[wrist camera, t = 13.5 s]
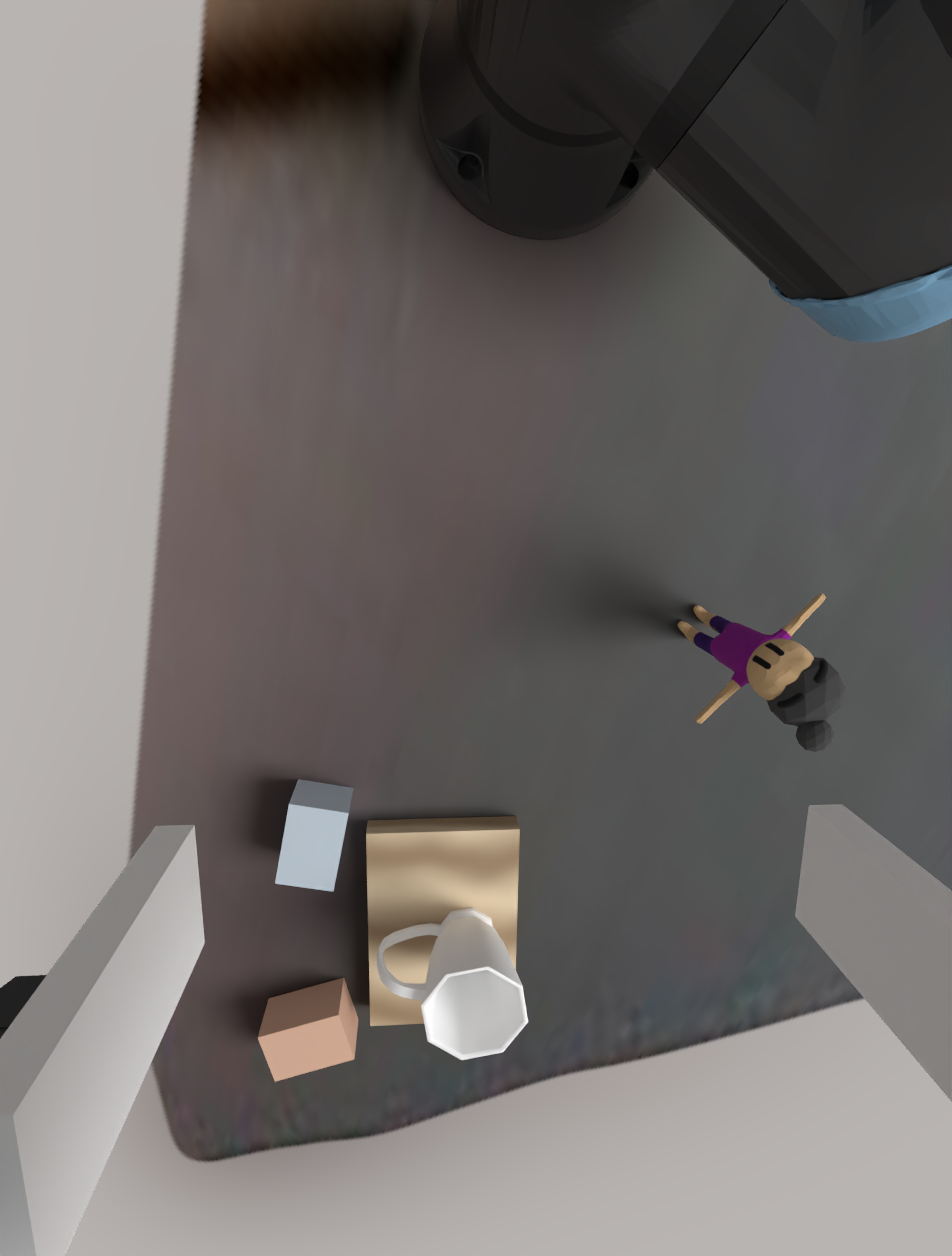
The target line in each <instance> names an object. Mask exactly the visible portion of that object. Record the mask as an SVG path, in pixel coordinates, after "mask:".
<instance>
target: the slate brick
mask: <svg viewBox="0 0 952 1256" xmlns="http://www.w3.org/2000/svg"><path fill="white" fill-rule="evenodd" d="M352 793H353V788H350V787H344V786H338V785H331V784H325V783H319V782H313V781H307V780H300V779H298V781H297V784H296V787H295V789H294V792H293V795H292V797H291V800H290V803H289V807H288V812H287V818H286V824H285V829H284V835H283V841H282V847H281V852H280V858H279V864H278V870H277V875H276V881H275V884H282V885H289V886H296V887H304V888H311V889H318V890H325V891H332V892H333V891H334V886H335V881H336V876H337V871H338V865H339V860H340V855H341V850H342V845H343V840H344V835H345V829H346V824H347V819H348V814H349V809H350V804H351V798H352Z"/></svg>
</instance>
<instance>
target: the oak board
mask: <svg viewBox="0 0 952 1256" xmlns="http://www.w3.org/2000/svg"><path fill="white" fill-rule="evenodd" d="M519 835H520V829H519V825H518V822H517V818H516V816H501V817H466V818H431V819H396V820H368V824H367V831H366V852H367V896H368V940H369V984H370V1026H382V1025H401V1024H419V1023H424V1019H423V1014H422V1009H421V1002H422V1000H413V999H409V998H404V997H401V996H398V995H396V994H394V993H392V992H391V991H390V990H389V989H388V988H387V987H386V986H385V985H384V984H383V983H382V982H381V979H380V976H379V973H378V969H377V953H378V949H379V946H380V944H381V943H382V941H383V939H384V938H385V937H387V936H388V935H390V934H392V933H393V932H396V931H399V930H402V929H405V928H408V927H412V926H415V925H421V924H428V923H434V924H441V923H442V922H443V921H444V919H445V918H446V917H447V916H448V914H449V913H450V912H451V911H456V910H462V909H467V908H472V907H473V908H475V909H477V910H478V911H480V912H482V913H483V914H485V915H487V916H488V917H490V918H491V919H492V925H493V928H495V930H496V931H497V933H498V935H499V936H500V938H501V939H502V941H503V942H504V944H505V947H506V949H507V951H508V954H509V956H510V959H511V961H512V964H513V966H514V968H515V970H516V937H517V903H518V869H519ZM437 938H438V936H434V935H424V936H417V937H414V938H410V939H407V940H404V941H401V942H399V943H396V944H394V945H392V946H390V947H388V948H386V949H385V951H384V952H383V956H384V961H385V964H386V967H387V970H388V971H389V972H390V973H391V974H392V975H393V976H394V977H395V978H396V979H397V980H399V981H401V982H403V983H415V984H421V983H425V982H426V977H427V971H428V966H429V960H430V956H431V953H432V950H433V947H434V944H435V942H436V939H437Z"/></svg>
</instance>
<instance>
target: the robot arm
mask: <svg viewBox="0 0 952 1256" xmlns="http://www.w3.org/2000/svg"><path fill="white" fill-rule="evenodd" d="M419 107H420V117H421V123H422V128H423V132H424V137H425V140H426V143H427V147H428V149H429V152H430V155H431V157H432V159H433V162H434V164H435V166H436V168H437V170H438V172H439V173H440V175H441V177H442V179H443V180H444V182H445V183H446V185H447V186H448V187H449V189H450V190H451V191H452V193H453V194H454V195H455V196H456V197H457V199H458V200H459V201H460V202H461V203H462V204H463V205H464V206H465V207H466V208H467V209H468V210H470V211H471V212H472V213H473V214H474V215H476V216H477V217H478V218H480V219H481V220H483V221H484V222H486V223H487V224H489V225H491V226H493V227H495V228H497V229H499V230H501V231H504V232H506V233H509V234H512V235H515V236H519V237H523V238H529V239H539V240H551V239H560V238H566V237H570V236H574V235H578V234H581V233H584V232H586V231H588V230H591V229H593V228H595V227H596V226H598V225H600V224H602V223H603V222H605V221H606V220H608V219H609V218H611V217H612V216H613V215H615V214H616V213H617V212H618V211H619V210H620V209H622V208H623V207H624V206H625V205H626V204H627V203H628V202H629V200H630V199H631V198H632V197H633V196H634V195H635V193H636V192H637V191H638V190H639V188H640V187H641V186H642V184H643V183H644V182H645V180H646V179H647V178H648V176H649V175H650V174H651V172H652V170H653V169H656V168H657V169H656V171H657V172H658V173H659V174H660V175H661V176H662V177H663V178H664V179H665V180H666V181H667V182H668V183H669V184H670V185H671V186H672V187H673V188H674V189H675V190H677V191H678V192H679V193H680V194H681V195H682V196H683V197H684V198H685V199H686V200H687V201H688V202H689V203H690V204H691V205H692V206H693V207H694V208H695V209H696V210H697V211H699V212H700V213H701V214H702V215H703V216H704V217H705V218H706V219H707V220H708V221H709V222H710V223H711V224H712V225H713V226H714V227H715V228H716V229H717V230H718V231H719V232H721V233H722V234H723V235H724V236H725V237H726V238H727V239H728V240H729V241H730V242H731V243H732V244H733V245H734V246H735V247H736V248H737V249H738V250H739V251H740V252H741V253H743V254H744V255H745V256H746V257H747V258H748V259H749V260H750V261H751V262H752V263H753V264H754V265H755V266H756V267H757V268H758V269H759V270H760V271H761V272H762V273H763V274H765V275H766V276H767V277H768V278H769V284H770V286H771V288H772V289H773V291H774V292H775V293H776V294H777V296H778V297H779V298H781V299H782V300H784V301H787V302H789V303H790V304H791V305H793V306H797V307H799V308H800V309H801V310H802V311H804V312H805V313H806V314H807V315H808V316H809V317H811V318H812V319H813V320H814V321H815V322H816V323H817V324H819V325H820V326H821V327H822V328H823V329H825V330H826V331H827V332H829V333H830V334H832V335H834V336H838V337H840V338H843V339H846V340H849V341H855V342H879V341H886V340H891V339H896V338H900V337H904V336H907V335H911V334H914V333H917V332H920V331H922V330H925V329H927V328H930V327H932V326H935V325H937V324H939V323H942V322H944V321H946V320H948V319H951V318H952V0H437V2H436V4H435V6H434V8H433V11H432V14H431V16H430V19H429V22H428V25H427V29H426V32H425V36H424V40H423V44H422V50H421V57H420V68H419ZM795 917H796V918H797V919H798V920H799V921H800V923H801V924H802V925H803V926H804V927H805V929H806V930H807V931H808V932H809V933H810V934H811V936H812V937H813V938H814V939H815V940H816V942H817V943H818V944H819V945H820V946H821V947H822V949H823V950H824V951H825V952H826V953H827V955H828V956H829V957H830V958H831V959H832V960H833V962H834V963H835V964H836V965H837V966H838V968H839V969H840V970H841V971H842V972H843V973H844V975H845V976H846V977H847V978H848V979H849V981H850V982H851V983H852V984H853V985H854V986H855V988H856V989H857V990H858V991H859V992H860V994H861V995H862V996H863V997H864V998H865V1000H866V1001H867V1002H868V1003H869V1004H870V1005H871V1006H872V1008H873V1009H874V1010H875V1011H876V1013H877V1014H878V1015H879V1016H880V1017H881V1018H882V1020H883V1021H884V1022H885V1023H886V1024H887V1026H888V1027H889V1028H890V1029H891V1030H892V1031H893V1033H894V1034H895V1035H896V1036H897V1037H898V1038H899V1040H900V1041H901V1042H902V1043H903V1044H904V1046H905V1047H906V1048H907V1049H908V1050H909V1051H910V1053H911V1054H912V1055H913V1056H914V1057H915V1059H916V1060H917V1061H918V1062H919V1063H920V1065H921V1066H922V1067H923V1068H924V1069H925V1071H926V1072H927V1073H928V1074H929V1075H930V1076H931V1078H932V1079H933V1080H934V1081H935V1082H936V1083H937V1085H938V1086H939V1087H940V1088H941V1089H942V1091H943V1092H944V1093H945V1094H946V1095H947V1096H948V1098H949V1099H950V1100H951V1101H952V891H951V890H950V889H949V888H947V887H946V886H945V885H944V884H942V883H941V882H940V881H939V880H937V879H936V878H935V877H933V876H932V875H931V874H930V873H928V872H927V871H926V870H925V869H923V868H922V867H921V866H920V865H918V864H917V863H916V862H914V861H913V860H912V859H911V858H909V857H908V856H907V855H906V854H904V853H903V852H902V851H901V850H899V849H898V848H897V847H895V846H894V845H893V844H892V843H890V842H889V841H888V840H887V839H885V838H884V837H883V836H882V835H880V834H879V833H878V832H876V831H875V830H874V829H873V828H871V827H870V826H869V825H868V824H866V823H865V822H864V821H863V820H861V819H860V818H859V817H857V816H856V815H855V814H854V813H852V812H851V811H850V810H849V809H847V808H846V807H845V806H844V805H842V804H838V805H809V809H808V817H807V825H806V833H805V841H804V849H803V857H802V865H801V874H800V882H799V890H798V898H797V906H796V914H795ZM204 943H205V941H204V929H203V918H202V906H201V895H200V883H199V872H198V860H197V849H196V838H195V826H194V825H173V826H155V828H154V829H153V830H152V832H151V833H150V835H149V836H148V837H147V839H146V840H145V841H144V843H143V844H142V845H141V847H140V848H139V850H138V851H137V852H136V854H135V855H134V856H133V858H132V859H131V861H130V862H129V863H128V865H127V866H126V867H125V869H124V870H123V872H122V873H121V874H120V876H119V877H118V879H117V880H116V881H115V883H114V884H113V885H112V887H111V888H110V889H109V891H108V892H107V894H106V895H105V896H104V898H103V899H102V900H101V902H100V903H99V904H98V906H97V907H96V909H95V910H94V911H93V913H92V914H91V915H90V917H89V918H88V919H87V921H86V922H85V924H84V925H83V926H82V928H81V929H80V930H79V932H78V933H77V934H76V936H75V937H74V939H73V940H72V941H71V943H70V944H69V946H68V947H67V948H66V950H65V951H64V952H63V954H62V955H61V957H60V958H59V959H58V961H57V962H56V963H55V965H54V966H53V968H52V969H51V970H50V972H49V973H48V974H47V975H40V976H19V977H15V978H13V979H12V980H11V981H9V982H8V983H7V984H5V985H4V986H3V987H1V988H0V1256H65V1254H66V1252H67V1250H68V1247H69V1245H70V1243H71V1241H72V1239H73V1236H74V1234H75V1232H76V1230H77V1228H78V1225H79V1223H80V1221H81V1219H82V1216H83V1214H84V1212H85V1210H86V1207H87V1205H88V1203H89V1201H90V1198H91V1196H92V1194H93V1192H94V1189H95V1187H96V1185H97V1182H98V1180H99V1178H100V1176H101V1173H102V1171H103V1169H104V1167H105V1165H106V1162H107V1160H108V1158H109V1156H110V1153H111V1151H112V1149H113V1147H114V1145H115V1142H116V1140H117V1138H118V1136H119V1134H120V1131H121V1129H122V1127H123V1125H124V1122H125V1120H126V1118H127V1116H128V1113H129V1111H130V1109H131V1107H132V1104H133V1102H134V1100H135V1098H136V1095H137V1093H138V1091H139V1089H140V1086H141V1084H142V1082H143V1080H144V1078H145V1075H146V1073H147V1071H148V1069H149V1066H150V1064H151V1062H152V1060H153V1057H154V1055H155V1053H156V1051H157V1049H158V1046H159V1044H160V1042H161V1040H162V1037H163V1035H164V1033H165V1031H166V1028H167V1026H168V1024H169V1022H170V1019H171V1017H172V1015H173V1013H174V1011H175V1008H176V1006H177V1004H178V1002H179V999H180V997H181V995H182V993H183V990H184V988H185V986H186V984H187V981H188V979H189V977H190V975H191V972H192V970H193V968H194V966H195V964H196V961H197V959H198V957H199V955H200V952H201V950H202V948H203V946H204Z"/></svg>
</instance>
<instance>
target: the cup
mask: <svg viewBox="0 0 952 1256" xmlns="http://www.w3.org/2000/svg"><path fill="white" fill-rule="evenodd" d="M424 935H434V936H438V938H437V939H436V942H435V944H434V947H433V950H432V953H431V956H430V960H429V966H428V971H427V977H426V982H425V983H421V984H415V983H403V982H401V981H399V980H397V979H396V978H395V977H394V976H393V975H392V974H391V973H390V972H389V971H388V970H387V967H386V964H385V961H384V956H383V952H384V951H385V949H386V948H388V947H390V946H392V945H394V944H396V943H399V942H401V941H404V940H407V939H410V938H414V937H417V936H424ZM377 969H378V973H379V976H380V979H381V982H382V983H383V984H384V985H385V986H386V987H387V988H388V989H389V990H390V991H391V992H392V993H394V994H396V995H398V996H401V997H404V998H409V999H413V1000H422V1002H421V1009H422V1014H423V1019H424V1024H425V1029H426V1034H427V1040H428V1042H430V1043H432V1044H434V1045H435V1046H437V1047H439V1048H441V1049H443V1050H444V1051H446V1052H448V1053H450V1054H452V1055H453V1056H455V1057H457V1058H459V1059H461V1060H465V1059H470V1058H475V1057H481V1056H486V1055H491V1054H496V1053H501V1052H504V1050H505V1049H506V1048H507V1047H508V1045H509V1044H510V1043H511V1042H512V1041H513V1039H514V1038H515V1037H516V1036H517V1035H518V1033H519V1032H520V1031H521V1030H522V1029H523V1027H524V1026H525V1025H526V1024H527V1023H528V1018H527V1012H526V1006H525V999H524V993H523V986H522V984H521V982H520V979H519V977H518V975H517V972H516V970H515V968H514V966H513V964H512V961H511V959H510V956H509V954H508V951H507V949H506V947H505V944H504V942H503V941H502V939H501V938H500V936H499V935H498V933H497V931H496V930H495V928H493V925H492V919H491V918H490V917H488V916H487V915H485V914H483V913H482V912H480V911H478V910H477V909H475V908H473V907H472V908H467V909H462V910H456V911H451V912H450V913H449V914H448V916H447V917H446V918H445V919H444V921H443V922H442V923H441V924H434V923H428V924H421V925H415V926H412V927H408V928H405V929H402V930H399V931H396V932H393V933H392V934H390V935H388V936H387V937H385V938H384V939H383V941H382V943H381V944H380V946H379V949H378V953H377Z"/></svg>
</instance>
